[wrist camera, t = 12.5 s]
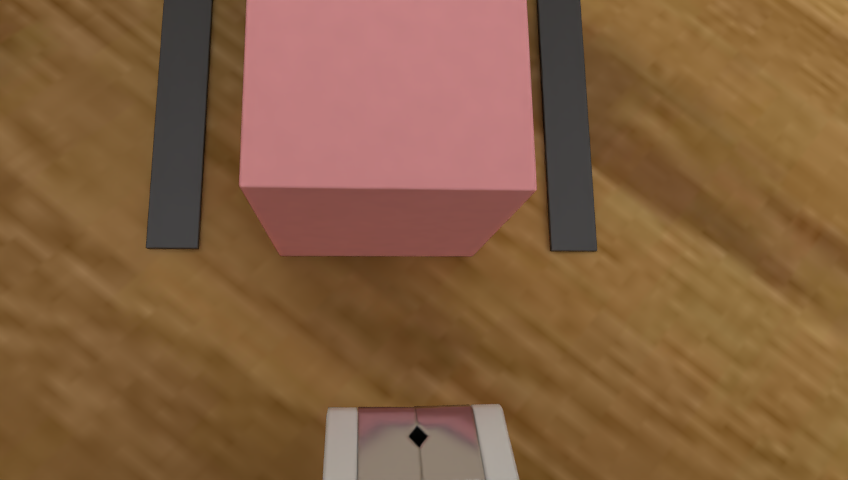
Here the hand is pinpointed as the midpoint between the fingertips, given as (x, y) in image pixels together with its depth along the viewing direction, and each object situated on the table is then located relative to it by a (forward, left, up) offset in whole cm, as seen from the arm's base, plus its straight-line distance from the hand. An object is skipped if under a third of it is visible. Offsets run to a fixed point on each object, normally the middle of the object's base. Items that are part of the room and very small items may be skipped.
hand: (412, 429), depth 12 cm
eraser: (+8, -8, -8) cm, 14 cm away
